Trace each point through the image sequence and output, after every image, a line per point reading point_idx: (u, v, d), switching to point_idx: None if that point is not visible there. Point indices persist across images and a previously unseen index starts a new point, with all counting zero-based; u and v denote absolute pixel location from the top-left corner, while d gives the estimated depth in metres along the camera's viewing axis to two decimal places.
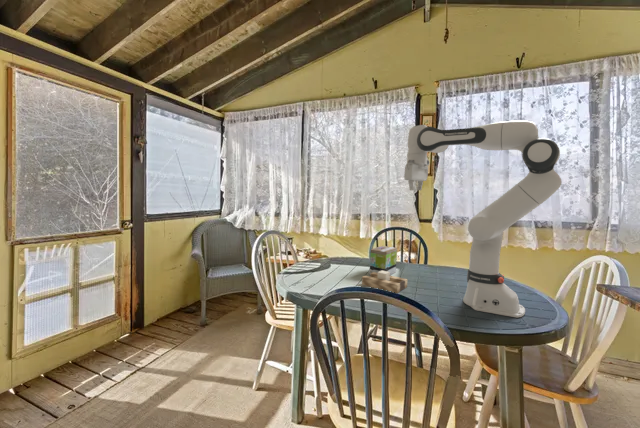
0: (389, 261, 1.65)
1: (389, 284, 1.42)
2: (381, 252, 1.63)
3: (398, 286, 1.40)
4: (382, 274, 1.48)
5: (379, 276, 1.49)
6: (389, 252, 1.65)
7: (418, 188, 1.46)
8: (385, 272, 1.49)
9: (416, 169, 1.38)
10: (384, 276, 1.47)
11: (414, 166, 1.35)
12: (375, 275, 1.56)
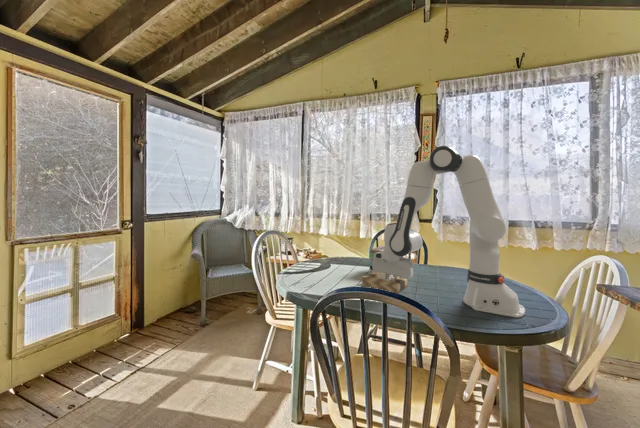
0: None
1: (389, 284, 1.42)
2: None
3: (398, 286, 1.40)
4: (381, 273, 1.48)
5: (378, 276, 1.49)
6: None
7: None
8: None
9: None
10: (383, 276, 1.47)
11: None
12: (375, 275, 1.56)
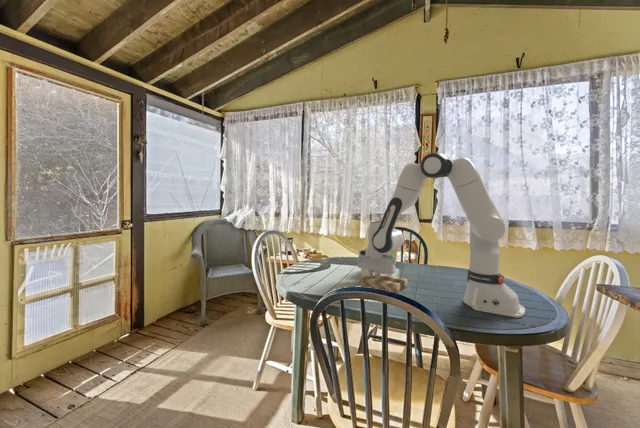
0: None
1: (389, 284, 1.42)
2: None
3: (398, 286, 1.40)
4: (365, 269, 1.54)
5: (363, 272, 1.54)
6: (389, 252, 1.65)
7: (375, 277, 1.52)
8: None
9: None
10: (367, 271, 1.53)
11: None
12: None
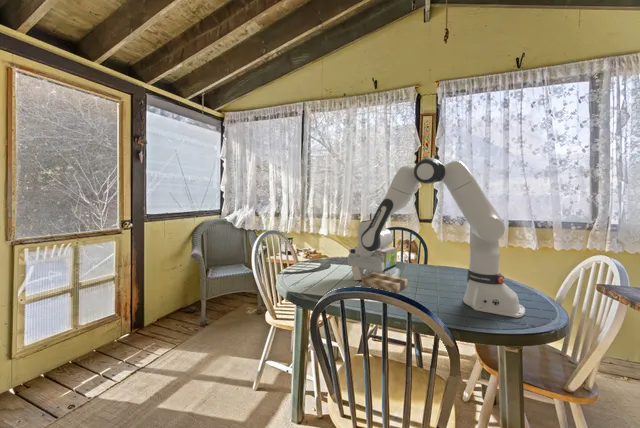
0: (389, 261, 1.65)
1: (389, 284, 1.42)
2: (381, 252, 1.63)
3: (398, 286, 1.40)
4: (355, 267, 1.57)
5: (353, 270, 1.58)
6: (389, 252, 1.65)
7: (365, 275, 1.56)
8: None
9: None
10: (357, 269, 1.57)
11: None
12: (375, 275, 1.56)
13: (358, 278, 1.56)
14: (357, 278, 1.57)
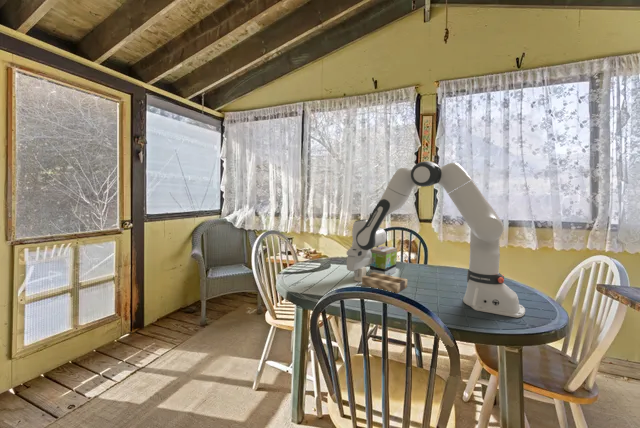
0: (389, 261, 1.65)
1: (389, 284, 1.42)
2: (381, 252, 1.63)
3: (398, 286, 1.40)
4: (358, 269, 1.56)
5: None
6: (389, 252, 1.65)
7: None
8: None
9: None
10: (360, 271, 1.56)
11: None
12: (375, 275, 1.56)
13: (359, 280, 1.56)
14: (357, 279, 1.57)
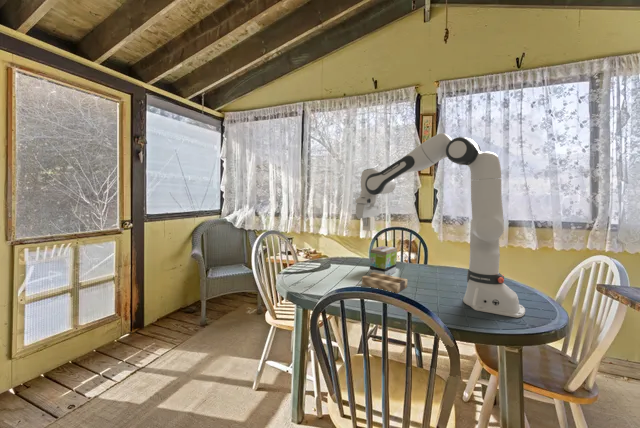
0: (389, 261, 1.65)
1: (389, 284, 1.42)
2: (381, 252, 1.63)
3: (398, 286, 1.40)
4: (367, 218, 1.57)
5: None
6: (389, 252, 1.65)
7: None
8: (370, 217, 1.58)
9: None
10: (368, 220, 1.57)
11: None
12: (375, 275, 1.56)
13: (367, 229, 1.57)
14: (366, 229, 1.58)
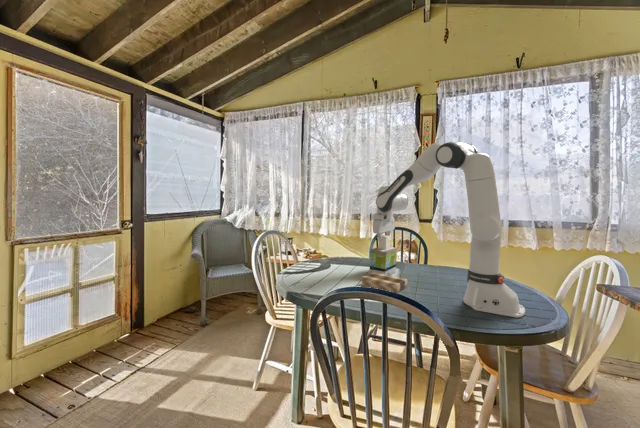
0: (389, 261, 1.65)
1: (389, 284, 1.42)
2: (381, 252, 1.63)
3: (398, 286, 1.40)
4: (383, 237, 1.67)
5: None
6: (389, 252, 1.65)
7: None
8: (385, 236, 1.68)
9: None
10: (384, 239, 1.67)
11: None
12: (375, 275, 1.56)
13: (383, 247, 1.67)
14: (382, 247, 1.68)
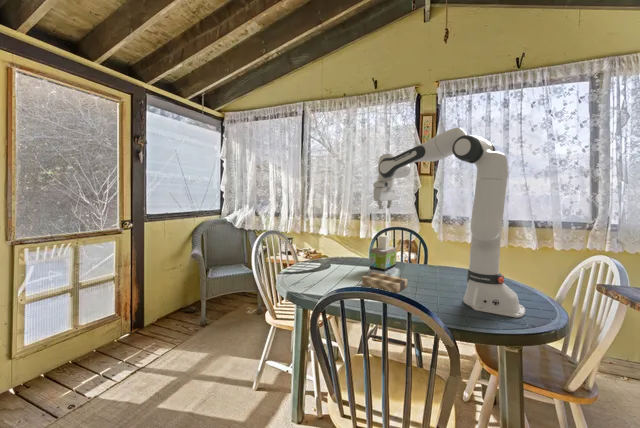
0: (388, 261, 1.65)
1: (389, 284, 1.42)
2: (381, 252, 1.63)
3: (398, 286, 1.40)
4: (382, 237, 1.67)
5: (380, 239, 1.68)
6: (389, 252, 1.65)
7: None
8: (385, 236, 1.68)
9: None
10: (384, 239, 1.67)
11: None
12: (375, 275, 1.56)
13: (383, 247, 1.68)
14: (381, 247, 1.68)
